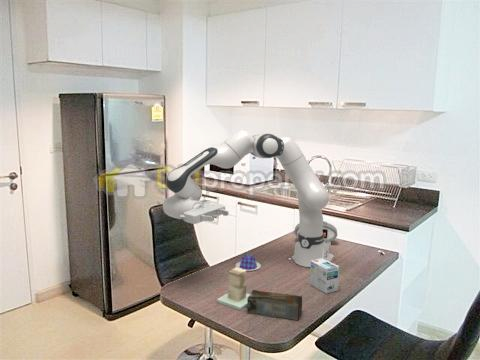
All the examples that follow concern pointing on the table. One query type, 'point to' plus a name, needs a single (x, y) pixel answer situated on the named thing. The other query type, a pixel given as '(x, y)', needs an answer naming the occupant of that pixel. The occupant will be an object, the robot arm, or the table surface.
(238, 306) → the sage tile
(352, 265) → the table surface
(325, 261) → the light bulb box
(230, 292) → the beech block
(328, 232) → the alarm clock
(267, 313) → the beverage carton
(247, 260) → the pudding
